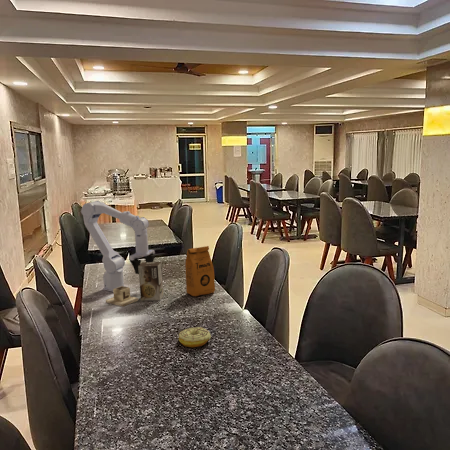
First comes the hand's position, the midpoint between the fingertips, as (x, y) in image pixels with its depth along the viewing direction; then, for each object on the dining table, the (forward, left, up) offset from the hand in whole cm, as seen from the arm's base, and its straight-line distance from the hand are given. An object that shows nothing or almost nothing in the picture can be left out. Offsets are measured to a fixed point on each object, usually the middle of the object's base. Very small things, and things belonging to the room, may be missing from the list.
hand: (143, 271), depth 193 cm
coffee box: (+11, -6, -10) cm, 15 cm away
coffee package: (+26, +10, -10) cm, 29 cm away
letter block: (+2, -16, -8) cm, 18 cm away
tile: (+2, -16, -9) cm, 18 cm away
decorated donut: (+54, -31, -10) cm, 63 cm away
